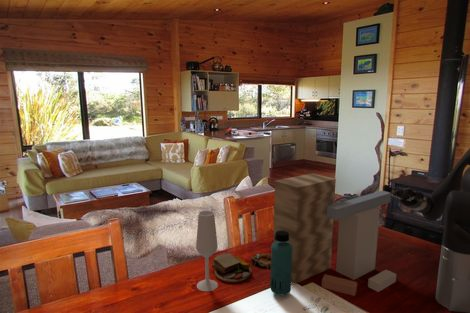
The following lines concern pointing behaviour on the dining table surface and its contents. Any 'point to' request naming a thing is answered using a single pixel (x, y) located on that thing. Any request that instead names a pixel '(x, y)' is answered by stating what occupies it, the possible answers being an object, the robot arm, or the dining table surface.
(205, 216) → the champagne flute
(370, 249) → the cream stand
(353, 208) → the gray bar
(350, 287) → the brown rectangular block
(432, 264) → the dining table surface
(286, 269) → the beverage bottle
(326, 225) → the oak stand
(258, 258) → the pastry
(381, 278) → the beige rectangular block
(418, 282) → the dining table surface
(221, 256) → the toy sandwich meal
